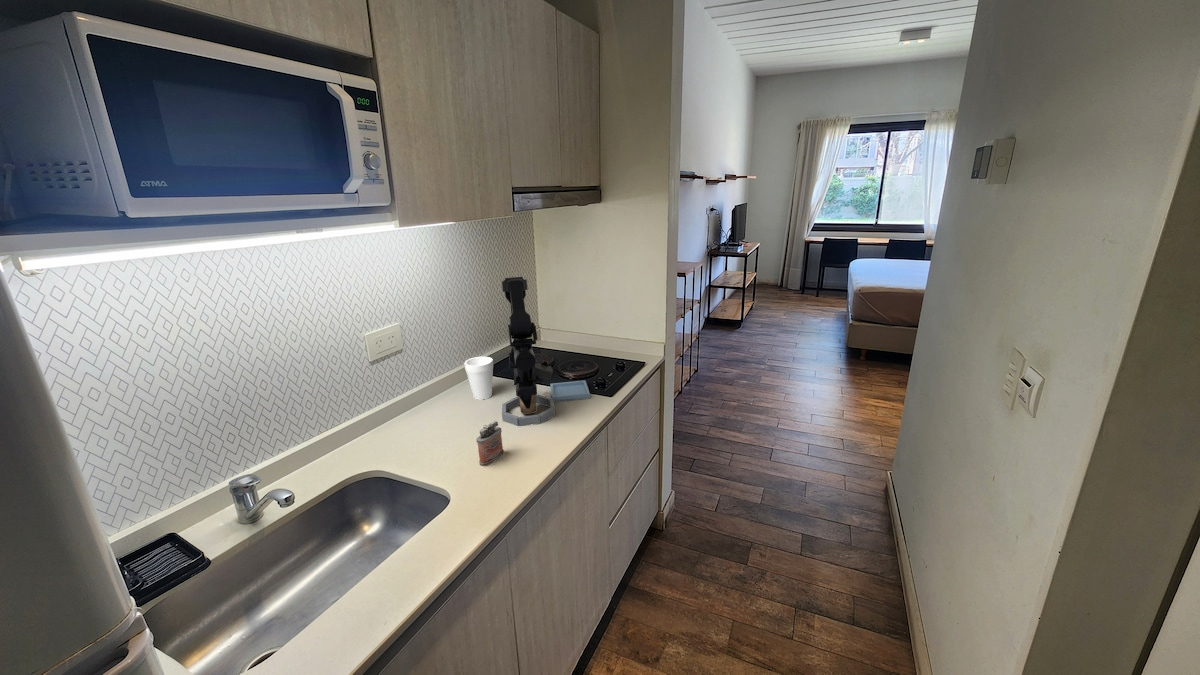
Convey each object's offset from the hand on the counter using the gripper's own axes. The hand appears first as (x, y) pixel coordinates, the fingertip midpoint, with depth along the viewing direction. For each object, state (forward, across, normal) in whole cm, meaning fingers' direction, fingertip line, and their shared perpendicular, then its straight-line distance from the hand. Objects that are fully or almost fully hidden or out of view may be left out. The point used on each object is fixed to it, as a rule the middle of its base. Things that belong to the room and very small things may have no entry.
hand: (528, 404), depth 155 cm
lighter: (+3, -25, +10) cm, 27 cm away
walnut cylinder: (+2, 0, 0) cm, 2 cm away
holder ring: (+3, 0, 0) cm, 3 cm away
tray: (+3, +12, -14) cm, 19 cm away
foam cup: (+3, +17, +16) cm, 23 cm away
